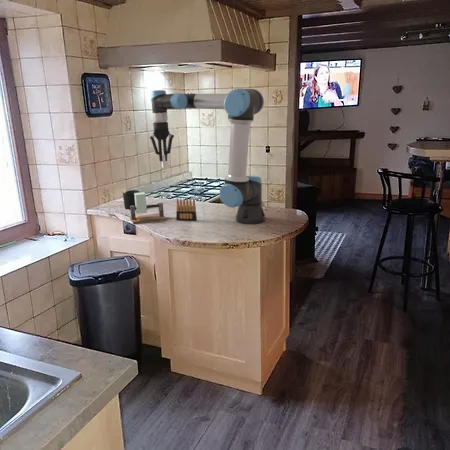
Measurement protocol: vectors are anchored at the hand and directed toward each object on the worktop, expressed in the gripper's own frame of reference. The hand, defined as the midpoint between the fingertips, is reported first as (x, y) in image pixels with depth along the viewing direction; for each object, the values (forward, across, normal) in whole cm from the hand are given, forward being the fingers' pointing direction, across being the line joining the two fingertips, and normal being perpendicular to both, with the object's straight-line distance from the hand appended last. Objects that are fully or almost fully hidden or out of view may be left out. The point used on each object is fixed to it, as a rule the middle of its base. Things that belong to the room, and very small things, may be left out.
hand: (163, 167), depth 228 cm
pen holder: (+27, +14, -30) cm, 43 cm away
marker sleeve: (+22, +14, +1) cm, 26 cm away
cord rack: (+27, +11, +1) cm, 29 cm away
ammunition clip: (+27, -7, +13) cm, 31 cm away
